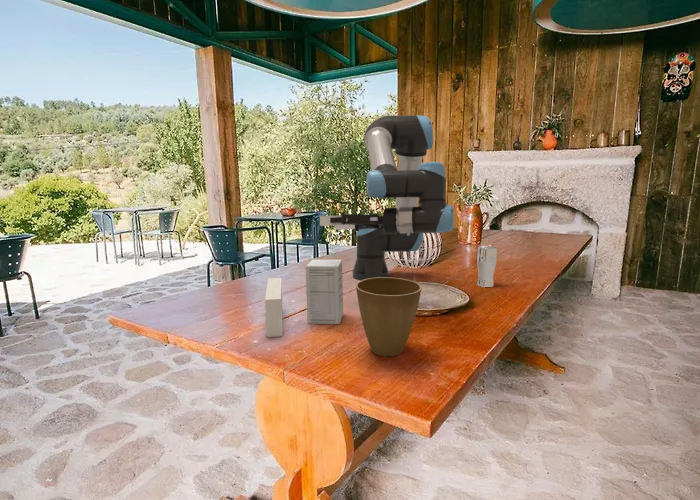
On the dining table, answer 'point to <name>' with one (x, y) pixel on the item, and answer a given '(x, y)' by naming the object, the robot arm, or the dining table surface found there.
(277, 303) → the white rectangular block
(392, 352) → the plant pot
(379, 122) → the robot arm
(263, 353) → the dining table surface
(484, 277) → the beer glass
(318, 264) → the supplement box
